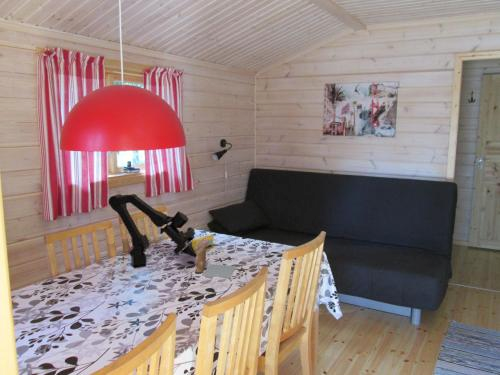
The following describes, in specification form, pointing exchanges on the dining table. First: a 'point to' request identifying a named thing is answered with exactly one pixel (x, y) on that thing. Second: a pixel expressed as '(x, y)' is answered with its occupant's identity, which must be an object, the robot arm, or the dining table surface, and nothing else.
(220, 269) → the mat
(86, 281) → the dining table surface
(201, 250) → the walnut block
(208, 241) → the candy box
